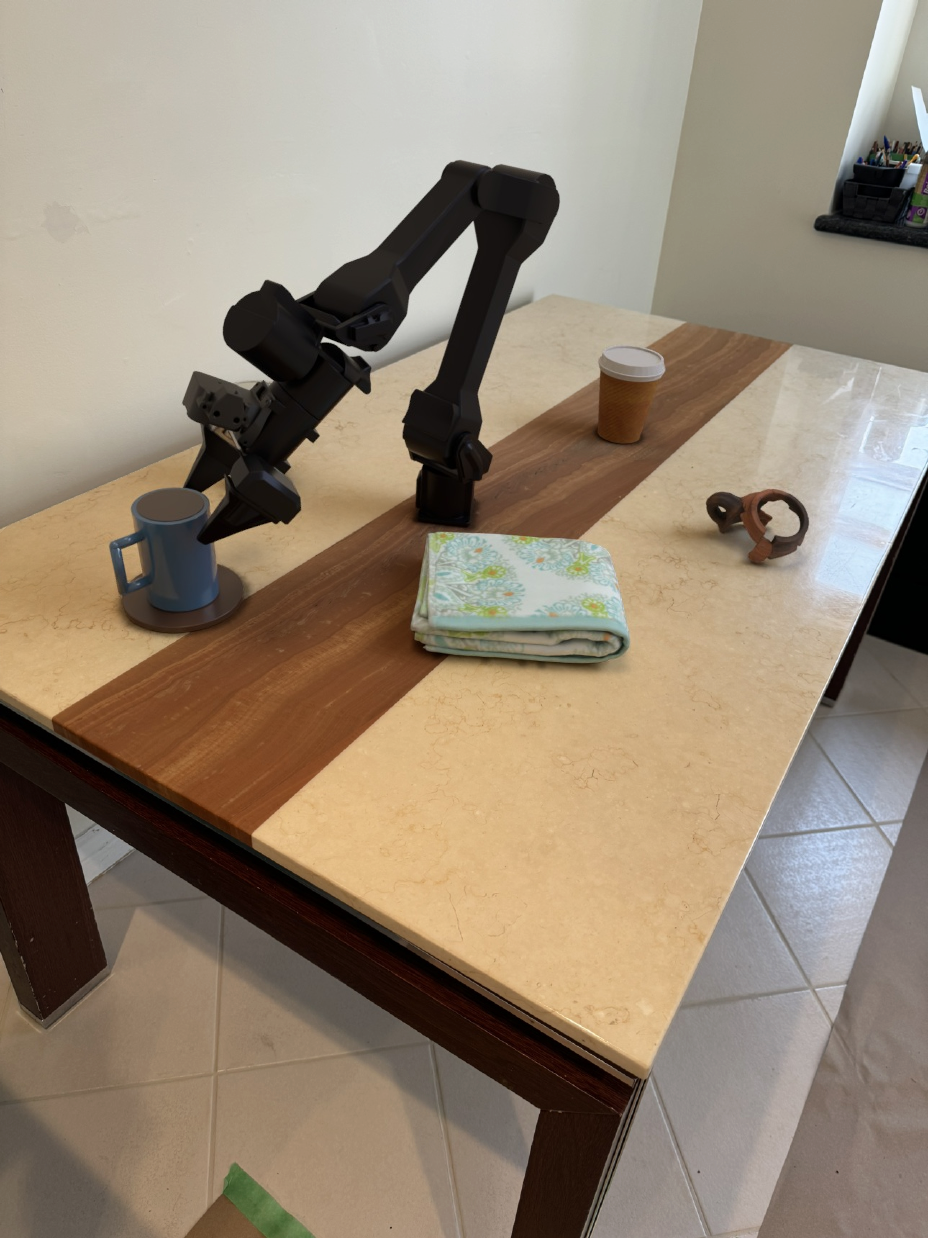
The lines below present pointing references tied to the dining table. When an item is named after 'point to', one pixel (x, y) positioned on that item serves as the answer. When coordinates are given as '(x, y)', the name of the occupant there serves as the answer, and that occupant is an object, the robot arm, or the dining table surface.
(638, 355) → the disposable coffee cup
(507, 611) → the towel
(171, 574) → the mug
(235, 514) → the robot arm
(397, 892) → the dining table surface
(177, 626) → the coaster
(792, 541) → the brown double ring bracket
